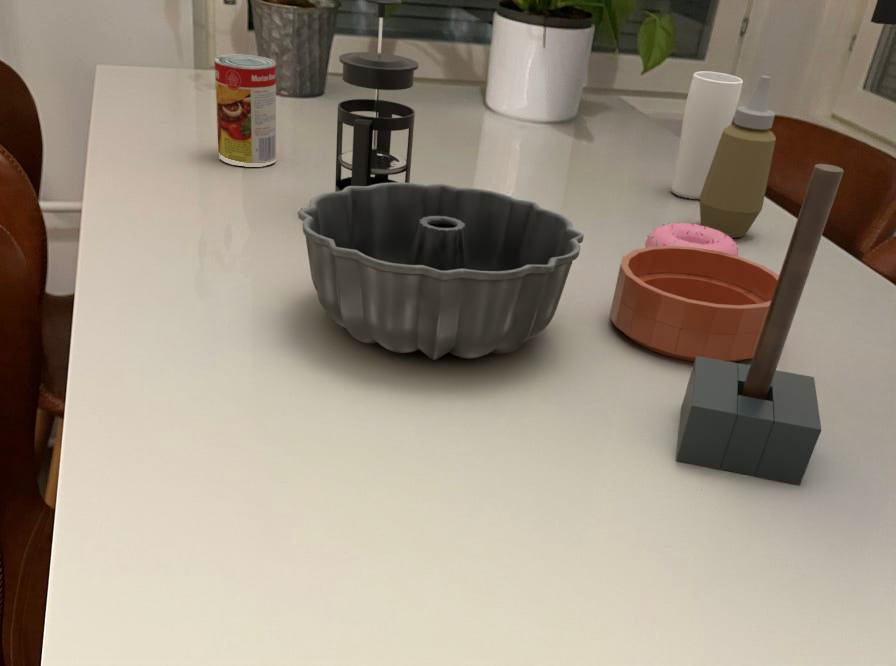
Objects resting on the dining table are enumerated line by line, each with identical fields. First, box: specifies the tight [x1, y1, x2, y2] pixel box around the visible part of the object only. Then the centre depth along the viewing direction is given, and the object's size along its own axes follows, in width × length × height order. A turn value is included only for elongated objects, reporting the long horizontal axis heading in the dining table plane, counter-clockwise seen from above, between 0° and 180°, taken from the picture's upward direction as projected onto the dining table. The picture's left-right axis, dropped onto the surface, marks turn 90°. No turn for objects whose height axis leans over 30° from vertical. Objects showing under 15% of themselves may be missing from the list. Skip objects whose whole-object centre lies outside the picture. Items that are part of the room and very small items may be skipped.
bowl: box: [609, 246, 780, 363], centre depth 100 cm, size 17×17×6 cm
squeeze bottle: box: [699, 75, 777, 239], centre depth 123 cm, size 8×8×18 cm
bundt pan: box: [297, 181, 585, 361], centre depth 94 cm, size 26×26×10 cm
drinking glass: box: [670, 70, 744, 200], centre depth 136 cm, size 7×7×15 cm
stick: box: [741, 163, 844, 400], centre depth 76 cm, size 2×2×22 cm
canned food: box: [214, 53, 277, 163], centre depth 132 cm, size 8×8×12 cm
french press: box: [334, 0, 419, 192], centre depth 114 cm, size 12×9×23 cm
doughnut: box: [644, 222, 740, 257], centre depth 115 cm, size 11×11×4 cm
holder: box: [675, 356, 822, 486], centre depth 82 cm, size 10×10×5 cm
